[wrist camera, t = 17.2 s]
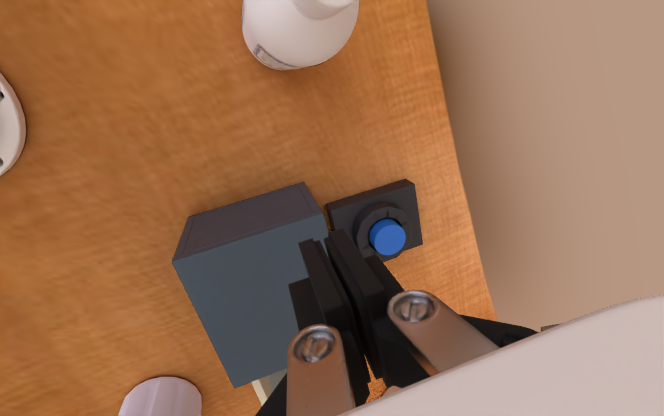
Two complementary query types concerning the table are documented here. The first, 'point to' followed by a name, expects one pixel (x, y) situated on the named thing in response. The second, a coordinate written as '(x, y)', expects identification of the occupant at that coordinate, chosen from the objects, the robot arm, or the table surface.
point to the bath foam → (297, 30)
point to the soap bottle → (163, 398)
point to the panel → (378, 216)
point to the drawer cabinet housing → (249, 276)
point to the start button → (387, 236)
